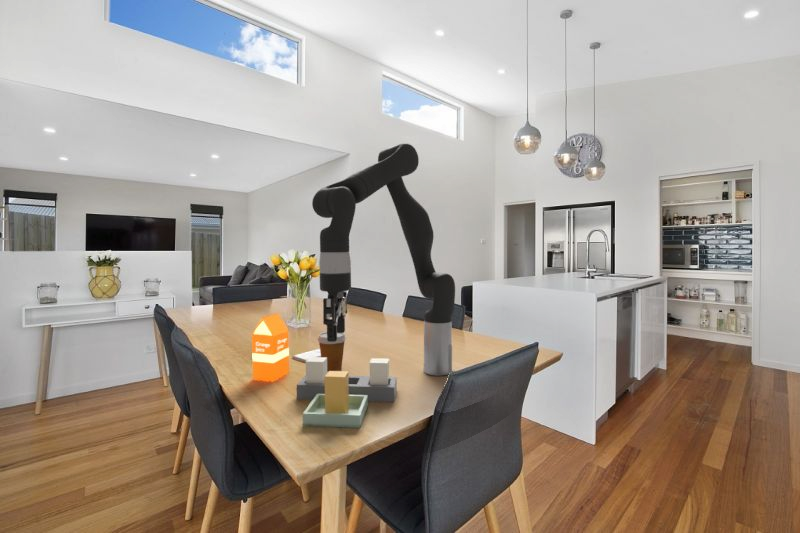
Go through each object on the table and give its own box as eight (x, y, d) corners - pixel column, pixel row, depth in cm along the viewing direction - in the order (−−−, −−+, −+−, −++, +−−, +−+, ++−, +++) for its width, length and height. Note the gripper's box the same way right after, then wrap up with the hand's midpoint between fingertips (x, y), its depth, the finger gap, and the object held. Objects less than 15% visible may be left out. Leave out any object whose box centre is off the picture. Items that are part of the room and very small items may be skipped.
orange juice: (289, 372, 123) (288, 313, 122) (273, 382, 114) (272, 318, 113) (269, 370, 125) (268, 312, 124) (252, 379, 116) (250, 317, 115)
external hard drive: (292, 359, 138) (318, 352, 148) (305, 364, 133) (332, 355, 143) (292, 355, 138) (318, 348, 148) (305, 359, 133) (332, 351, 143)
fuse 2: (389, 392, 106) (389, 358, 105) (387, 398, 102) (387, 363, 101) (371, 392, 106) (371, 358, 106) (369, 398, 102) (369, 362, 102)
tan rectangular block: (348, 409, 93) (348, 371, 93) (345, 417, 89) (344, 377, 89) (329, 409, 94) (329, 370, 93) (325, 416, 90) (324, 376, 89)
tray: (367, 406, 97) (367, 395, 97) (360, 428, 85) (360, 415, 85) (317, 404, 98) (317, 393, 98) (302, 426, 86) (302, 413, 86)
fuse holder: (396, 390, 108) (396, 376, 107) (394, 401, 100) (394, 387, 99) (306, 387, 110) (306, 374, 109) (296, 399, 102) (296, 384, 101)
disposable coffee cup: (340, 374, 121) (340, 338, 120) (313, 372, 122) (312, 337, 122) (350, 365, 130) (349, 331, 129) (324, 363, 132) (324, 330, 131)
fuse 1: (327, 391, 107) (327, 357, 106) (323, 396, 103) (323, 361, 102) (310, 390, 107) (310, 357, 107) (306, 396, 103) (305, 361, 103)
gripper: (344, 273, 82) (345, 344, 83) (356, 268, 96) (357, 330, 97) (311, 273, 83) (312, 344, 84) (327, 268, 97) (329, 329, 98)
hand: (336, 336), depth 90 cm, fingers open, 8 cm apart
